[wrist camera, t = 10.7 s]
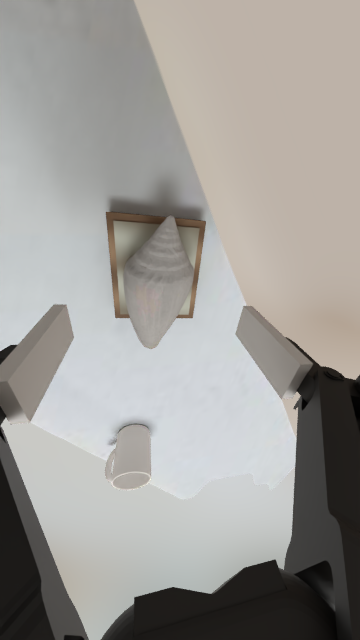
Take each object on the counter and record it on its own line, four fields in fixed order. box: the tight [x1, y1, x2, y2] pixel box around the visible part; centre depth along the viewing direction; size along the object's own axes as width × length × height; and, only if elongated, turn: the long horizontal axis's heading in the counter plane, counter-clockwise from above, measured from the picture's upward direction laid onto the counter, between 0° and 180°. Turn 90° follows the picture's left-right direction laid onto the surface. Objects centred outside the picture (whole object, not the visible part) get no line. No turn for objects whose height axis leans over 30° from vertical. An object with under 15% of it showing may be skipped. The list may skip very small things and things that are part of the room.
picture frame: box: [106, 212, 206, 318], centre depth 28 cm, size 14×12×3 cm
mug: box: [105, 424, 151, 490], centre depth 45 cm, size 12×8×10 cm
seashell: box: [123, 215, 194, 349], centre depth 24 cm, size 9×11×15 cm
